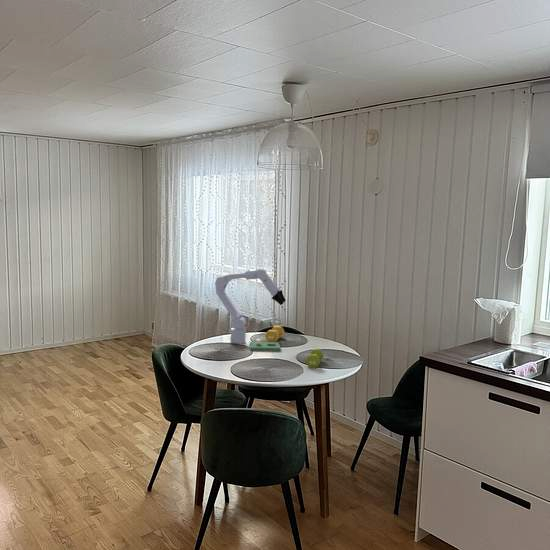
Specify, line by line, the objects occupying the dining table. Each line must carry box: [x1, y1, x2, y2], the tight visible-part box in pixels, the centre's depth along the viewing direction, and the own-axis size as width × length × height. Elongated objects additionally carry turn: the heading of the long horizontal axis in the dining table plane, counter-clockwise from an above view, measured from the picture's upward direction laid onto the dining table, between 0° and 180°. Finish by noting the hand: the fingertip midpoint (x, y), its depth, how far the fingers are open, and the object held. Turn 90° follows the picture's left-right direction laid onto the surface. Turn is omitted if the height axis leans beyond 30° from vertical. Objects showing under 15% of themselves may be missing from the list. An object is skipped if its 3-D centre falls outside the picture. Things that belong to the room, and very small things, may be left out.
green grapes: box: [305, 348, 325, 369], centre depth 280 cm, size 16×8×7 cm, turn 165°
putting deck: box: [249, 341, 282, 352], centre depth 311 cm, size 18×14×2 cm
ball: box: [255, 338, 262, 345], centre depth 310 cm, size 4×4×4 cm
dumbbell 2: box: [264, 325, 285, 342], centre depth 332 cm, size 19×9×8 cm, turn 165°
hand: (283, 303), depth 317 cm, fingers open, 7 cm apart
